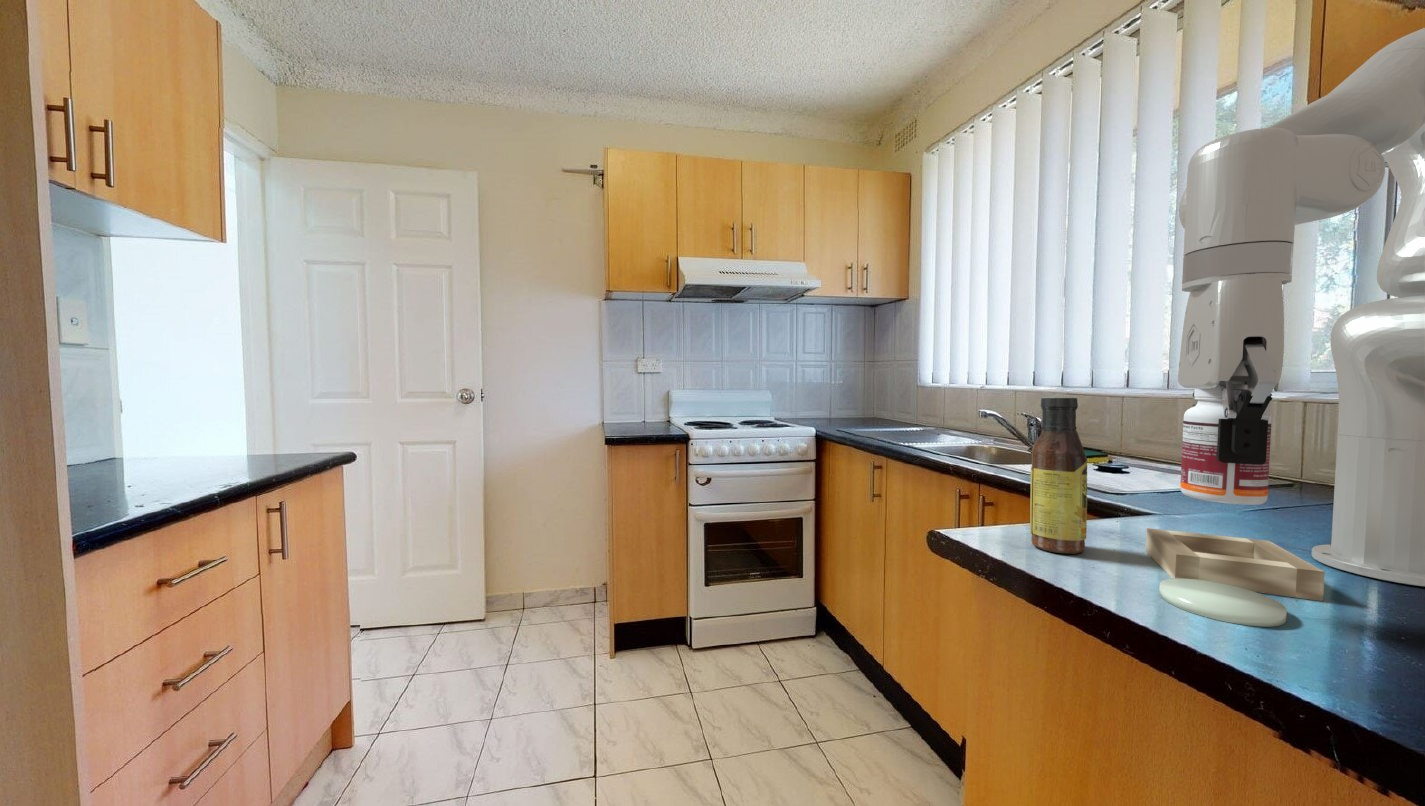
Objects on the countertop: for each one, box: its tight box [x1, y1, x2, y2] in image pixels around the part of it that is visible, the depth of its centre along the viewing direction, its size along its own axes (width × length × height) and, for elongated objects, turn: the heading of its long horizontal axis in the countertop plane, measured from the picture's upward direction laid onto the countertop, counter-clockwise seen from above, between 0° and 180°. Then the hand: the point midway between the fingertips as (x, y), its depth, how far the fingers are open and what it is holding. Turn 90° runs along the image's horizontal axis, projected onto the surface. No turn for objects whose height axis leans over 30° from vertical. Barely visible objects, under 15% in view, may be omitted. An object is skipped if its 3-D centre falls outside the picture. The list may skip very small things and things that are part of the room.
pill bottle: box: [1179, 385, 1272, 506], centre depth 52 cm, size 6×6×11 cm
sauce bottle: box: [1029, 396, 1088, 555], centre depth 70 cm, size 6×6×20 cm
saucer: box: [1158, 578, 1287, 628], centre depth 53 cm, size 9×9×1 cm
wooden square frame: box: [1145, 528, 1325, 602], centre depth 61 cm, size 12×12×3 cm
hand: (1225, 456), depth 52 cm, fingers closed on pill bottle, 6 cm apart
